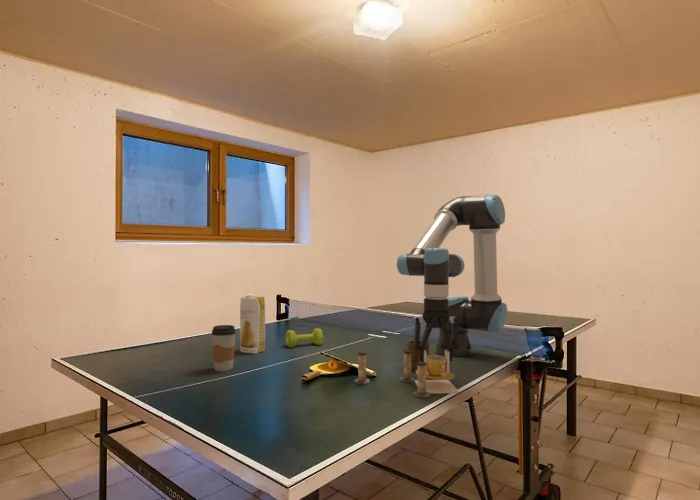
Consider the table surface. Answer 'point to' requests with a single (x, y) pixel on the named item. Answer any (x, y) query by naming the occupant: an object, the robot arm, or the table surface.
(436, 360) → the cup
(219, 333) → the coffee cup
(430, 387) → the coaster
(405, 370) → the posts
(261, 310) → the juice carton
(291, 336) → the dumbbell
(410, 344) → the mug
